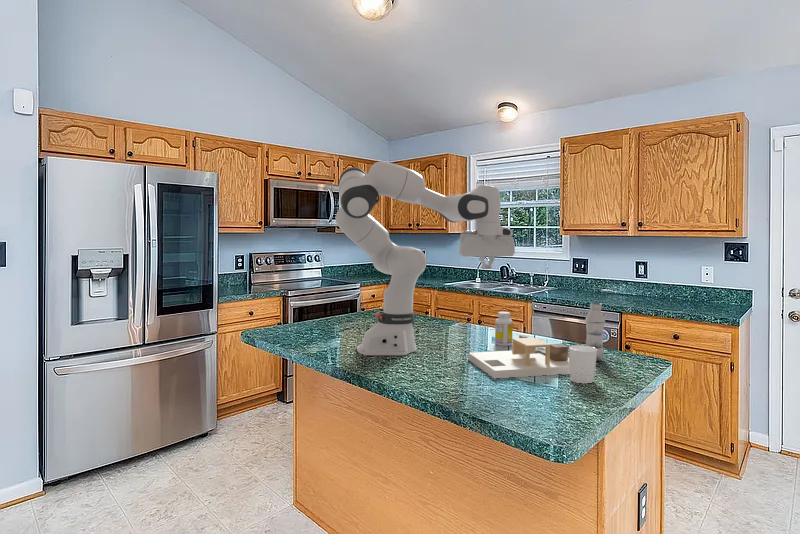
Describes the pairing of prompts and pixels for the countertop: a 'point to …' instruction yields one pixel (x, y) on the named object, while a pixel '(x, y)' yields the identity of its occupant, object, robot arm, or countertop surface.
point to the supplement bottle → (503, 329)
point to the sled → (554, 351)
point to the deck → (520, 360)
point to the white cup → (582, 363)
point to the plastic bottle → (595, 329)
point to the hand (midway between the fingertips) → (486, 269)
